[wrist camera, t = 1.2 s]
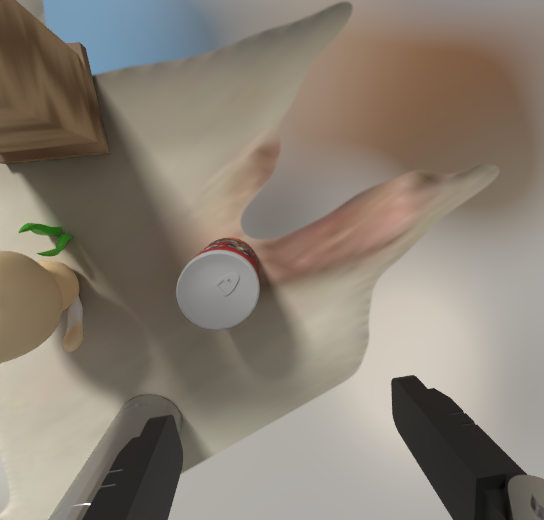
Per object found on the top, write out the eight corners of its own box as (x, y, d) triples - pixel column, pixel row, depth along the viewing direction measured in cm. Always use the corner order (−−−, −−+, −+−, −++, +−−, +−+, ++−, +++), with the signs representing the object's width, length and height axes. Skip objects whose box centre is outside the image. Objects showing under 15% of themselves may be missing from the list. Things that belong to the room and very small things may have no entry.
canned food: (268, 253, 35) (274, 274, 24) (240, 303, 36) (234, 344, 25) (216, 225, 34) (199, 234, 23) (189, 278, 35) (160, 310, 24)
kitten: (11, 217, 32) (-196, 227, 17) (97, 225, 33) (-30, 241, 18) (21, 330, 35) (-148, 420, 20) (100, 334, 36) (-7, 425, 21)
